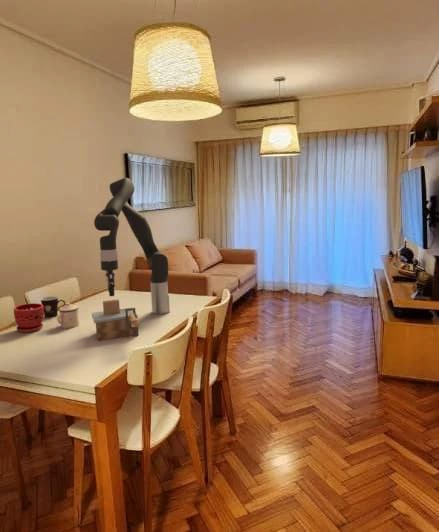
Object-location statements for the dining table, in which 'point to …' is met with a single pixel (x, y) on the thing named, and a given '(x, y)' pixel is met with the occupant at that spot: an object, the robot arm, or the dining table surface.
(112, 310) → the lid
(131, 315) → the key
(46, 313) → the coffee mug
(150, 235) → the robot arm
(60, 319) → the teacup with lid
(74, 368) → the dining table surface
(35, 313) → the plant pot
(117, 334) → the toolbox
